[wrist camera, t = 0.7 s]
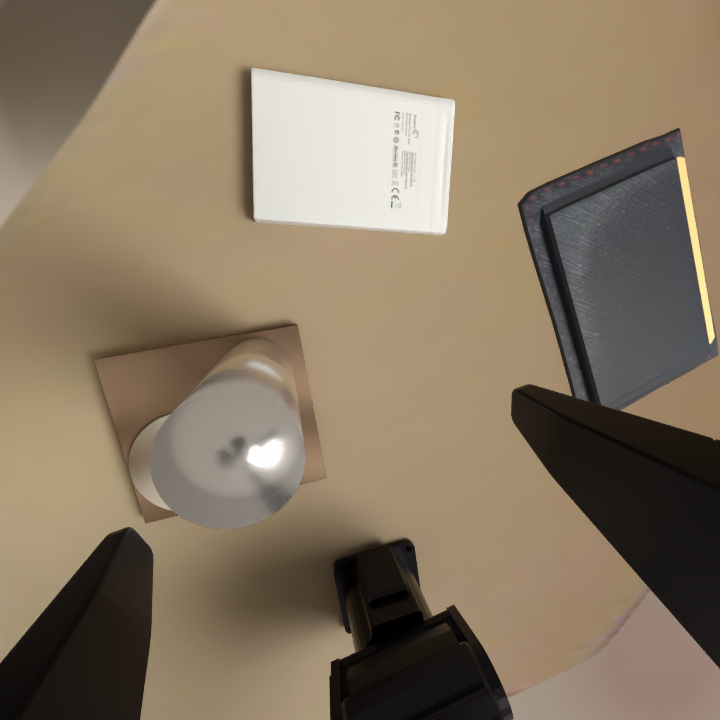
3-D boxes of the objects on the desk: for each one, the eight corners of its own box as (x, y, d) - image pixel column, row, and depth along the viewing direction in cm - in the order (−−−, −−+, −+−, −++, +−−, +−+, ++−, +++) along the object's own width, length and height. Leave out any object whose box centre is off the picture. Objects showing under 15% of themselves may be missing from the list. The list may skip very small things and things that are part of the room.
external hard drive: (252, 80, 22) (445, 109, 24) (255, 224, 23) (437, 237, 26) (250, 64, 20) (457, 96, 23) (253, 219, 21) (447, 233, 24)
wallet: (526, 189, 24) (703, 116, 26) (509, 196, 26) (676, 128, 28) (589, 438, 29) (735, 362, 31) (571, 429, 31) (710, 358, 33)
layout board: (325, 472, 26) (326, 479, 25) (149, 516, 24) (144, 525, 23) (297, 324, 24) (297, 325, 23) (100, 358, 22) (92, 361, 21)
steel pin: (298, 396, 24) (316, 507, 12) (231, 410, 23) (172, 545, 11) (286, 332, 23) (290, 377, 11) (215, 344, 22) (130, 408, 10)
